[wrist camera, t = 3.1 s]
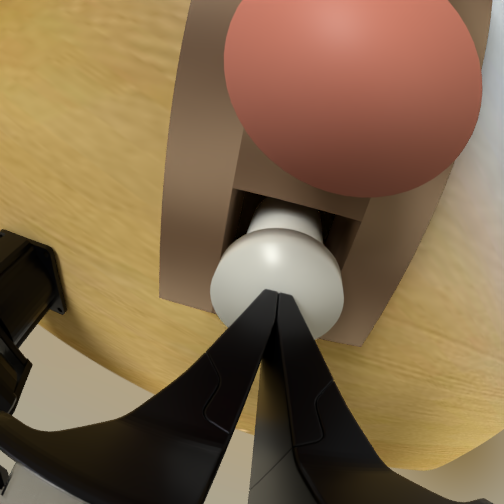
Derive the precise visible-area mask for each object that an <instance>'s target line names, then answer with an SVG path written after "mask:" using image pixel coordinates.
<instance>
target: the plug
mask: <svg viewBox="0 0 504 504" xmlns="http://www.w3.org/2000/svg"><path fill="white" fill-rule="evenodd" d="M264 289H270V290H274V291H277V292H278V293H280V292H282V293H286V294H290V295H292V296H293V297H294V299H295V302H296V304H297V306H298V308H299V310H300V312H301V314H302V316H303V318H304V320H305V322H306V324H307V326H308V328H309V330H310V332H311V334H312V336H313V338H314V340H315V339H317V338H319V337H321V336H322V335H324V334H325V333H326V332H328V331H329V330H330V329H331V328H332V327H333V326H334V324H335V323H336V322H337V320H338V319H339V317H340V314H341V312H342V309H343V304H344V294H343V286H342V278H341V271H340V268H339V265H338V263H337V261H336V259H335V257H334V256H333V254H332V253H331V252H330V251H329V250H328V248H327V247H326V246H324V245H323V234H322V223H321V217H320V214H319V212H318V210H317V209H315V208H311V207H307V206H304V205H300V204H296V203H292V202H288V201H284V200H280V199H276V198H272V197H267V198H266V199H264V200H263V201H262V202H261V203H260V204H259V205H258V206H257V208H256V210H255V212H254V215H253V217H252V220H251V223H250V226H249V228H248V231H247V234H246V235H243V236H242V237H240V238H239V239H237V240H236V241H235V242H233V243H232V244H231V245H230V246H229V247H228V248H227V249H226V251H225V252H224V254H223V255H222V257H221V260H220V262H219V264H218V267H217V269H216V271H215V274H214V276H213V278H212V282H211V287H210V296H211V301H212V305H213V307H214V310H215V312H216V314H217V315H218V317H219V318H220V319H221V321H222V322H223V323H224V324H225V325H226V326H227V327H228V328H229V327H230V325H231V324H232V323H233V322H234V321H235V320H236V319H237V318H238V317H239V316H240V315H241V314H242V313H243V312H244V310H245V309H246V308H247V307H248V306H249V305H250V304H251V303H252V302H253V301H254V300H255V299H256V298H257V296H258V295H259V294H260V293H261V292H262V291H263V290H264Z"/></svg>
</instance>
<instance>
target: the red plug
mask: <svg viewBox="0 0 504 504" xmlns="http://www.w3.org/2000/svg"><path fill="white" fill-rule="evenodd" d="M224 73H225V79H226V86H227V90H228V93H229V97H230V100H231V103H232V106H233V108H234V110H235V112H236V115H237V117H238V119H239V121H240V122H241V124H242V126H243V127H244V129H245V131H246V132H247V134H248V135H249V136H250V138H251V139H252V140H253V142H254V143H255V144H256V145H257V147H258V148H259V149H260V150H261V151H262V152H263V153H264V154H265V155H266V156H267V157H268V158H269V159H270V160H271V161H273V162H274V163H275V164H276V165H278V166H279V167H280V168H281V169H283V170H284V171H285V172H287V173H289V174H290V175H292V176H293V177H295V178H297V179H298V180H300V181H302V182H305V183H307V184H309V185H311V186H313V187H315V188H318V189H321V190H324V191H327V192H330V193H335V194H339V195H344V196H351V197H361V198H367V197H383V196H391V195H395V194H399V193H403V192H407V191H409V190H412V189H414V188H417V187H419V186H421V185H423V184H425V183H427V182H428V181H430V180H432V179H434V178H435V177H436V176H438V175H439V174H440V173H442V172H443V171H444V170H445V169H447V168H448V167H449V166H450V165H451V164H452V163H453V162H454V160H455V159H456V158H457V157H458V156H459V154H460V153H461V152H462V150H463V149H464V148H465V146H466V144H467V143H468V141H469V139H470V137H471V135H472V133H473V131H474V128H475V125H476V123H477V120H478V116H479V111H480V107H481V99H482V74H481V68H480V62H479V57H478V54H477V51H476V48H475V45H474V42H473V40H472V37H471V35H470V33H469V31H468V29H467V27H466V25H465V23H464V22H463V20H462V19H461V17H460V15H459V14H458V12H457V11H456V10H455V8H454V7H453V6H452V5H451V3H450V2H449V1H448V0H242V1H241V3H240V4H239V6H238V7H237V9H236V12H235V14H234V16H233V18H232V20H231V22H230V26H229V29H228V33H227V36H226V42H225V49H224Z"/></svg>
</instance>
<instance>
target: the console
mask: <svg viewBox="0 0 504 504" xmlns="http://www.w3.org/2000/svg"><path fill="white" fill-rule="evenodd" d="M241 1H242V0H191V3H190V7H189V12H188V17H187V21H186V26H185V31H184V36H183V41H182V46H181V52H180V57H179V63H178V69H177V75H176V81H175V88H174V94H173V101H172V109H171V116H170V124H169V133H168V142H167V151H166V162H165V173H164V185H163V199H162V216H161V237H160V272H159V298H162V299H165V300H169V301H172V302H175V303H179V304H182V305H186V306H189V307H193V308H196V309H200V310H203V311H207V312H211V313H214V314H216V312H215V310H214V307H213V305H212V301H211V296H210V287H211V282H212V278H213V276H214V274H215V271H216V269H217V267H218V264H219V262H220V260H221V257H222V255H223V254H224V252H225V251H226V249H227V248H228V247H229V246H230V245H231V244H232V243H233V242H235V241H236V240H237V239H236V235H237V230H238V225H239V220H240V215H241V210H242V205H243V200H244V195H245V191H248V192H252V193H256V194H260V195H264V196H268V197H272V198H276V199H280V200H284V201H288V202H292V203H296V204H300V205H304V206H307V207H311V208H315V209H318V210H322V211H326V212H329V213H333V214H336V215H335V218H334V221H333V224H332V226H331V229H330V232H329V235H328V238H327V240H326V243H325V246H326V247H327V248H328V250H329V251H330V252H331V253H332V254H333V256H334V257H335V259H336V261H337V263H338V265H339V268H340V271H341V278H342V286H343V294H344V304H343V309H342V312H341V314H340V317H339V319H338V320H337V322H336V323H335V324H334V326H333V327H332V328H331V329H330V330H329V331H328V332H326V333H325V334H324V335H322V336H321V337H319V338H318V339H323V340H328V341H333V342H338V343H343V344H348V345H353V346H359V347H361V346H362V344H363V343H364V341H365V340H366V338H367V337H368V335H369V333H370V332H371V330H372V329H373V327H374V325H375V324H376V322H377V321H378V319H379V317H380V316H381V314H382V312H383V311H384V309H385V307H386V305H387V304H388V302H389V300H390V298H391V297H392V295H393V293H394V291H395V290H396V288H397V286H398V284H399V282H400V281H401V279H402V277H403V275H404V273H405V271H406V269H407V267H408V266H409V264H410V262H411V260H412V258H413V256H414V254H415V252H416V250H417V248H418V246H419V244H420V242H421V240H422V237H423V235H424V233H425V231H426V229H427V227H428V225H429V222H430V220H431V218H432V216H433V214H434V211H435V209H436V207H437V204H438V202H439V200H440V197H441V195H442V192H443V190H444V188H445V185H446V182H447V180H448V177H449V175H450V172H451V170H452V167H453V164H454V162H453V163H452V164H451V165H450V166H449V167H448V168H447V169H445V170H444V171H443V172H442V173H440V174H439V175H438V176H436V177H435V178H434V179H432V180H430V181H428V182H427V183H425V184H423V185H421V186H419V187H417V188H414V189H412V190H409V191H407V192H403V193H399V194H395V195H391V196H383V197H367V198H361V197H351V196H344V195H339V194H335V193H330V192H327V191H324V190H321V189H318V188H315V187H313V186H311V185H309V184H307V183H305V182H302V181H300V180H298V179H297V178H295V177H293V176H292V175H290V174H289V173H287V172H285V171H284V170H283V169H281V168H280V167H279V166H278V165H276V164H275V163H274V162H273V161H271V160H270V159H269V158H268V157H267V156H266V155H265V154H264V153H263V152H262V151H261V150H260V149H259V148H258V147H257V145H256V144H255V143H254V142H253V140H252V139H251V138H250V136H249V135H248V134H247V132H246V131H245V129H244V127H243V126H242V124H241V122H240V121H239V119H238V117H237V115H236V112H235V110H234V108H233V106H232V103H231V100H230V97H229V93H228V90H227V86H226V79H225V73H224V49H225V42H226V36H227V33H228V29H229V26H230V22H231V20H232V18H233V16H234V14H235V12H236V9H237V7H238V6H239V4H240V3H241ZM448 1H449V2H450V3H451V5H452V6H453V7H454V8H455V10H456V11H457V12H458V14H459V15H460V17H461V19H462V20H463V22H464V23H465V25H466V27H467V29H468V31H469V33H470V35H471V37H472V40H473V42H474V45H475V48H476V51H477V54H478V57H479V62H480V68H481V69H482V65H483V60H484V55H485V50H486V44H487V38H488V32H489V25H490V18H491V9H492V0H448ZM454 161H455V160H454Z"/></svg>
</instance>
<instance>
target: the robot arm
mask: <svg viewBox="0 0 504 504" xmlns="http://www.w3.org/2000/svg"><path fill="white" fill-rule="evenodd" d="M49 309H51V310H53V311H55V312H57V313H59V314H62V315H63V314H65V312H66V311H67V308H66V304H65V300H64V296H63V292H62V288H61V284H60V280H59V276H58V271H57V266H56V262H55V257H54V252H53V250H52V248H51V247H49V246H47V245H45V244H42V243H39V242H36V241H34V240H31V239H28V238H25V237H23V236H20V235H17V234H15V233H12V232H9V231H7V230H4V229H2V230H1V231H0V450H1V451H2V452H3V453H5V454H6V455H7V456H8V457H10V458H11V459H12V460H14V461H15V462H16V463H15V465H14V467H13V469H12V471H11V473H10V475H8V472H7V470H6V469H5V468H4V467H2V466H1V465H0V504H203V503H204V501H205V499H206V497H207V494H208V492H209V489H210V487H211V485H212V483H213V480H214V478H215V476H216V473H217V471H218V468H219V466H220V464H221V461H222V459H223V457H224V454H225V452H226V449H227V447H228V444H229V442H230V439H231V437H232V435H233V432H234V430H235V427H236V425H237V422H238V420H239V417H240V415H241V412H242V410H243V407H244V404H245V402H246V399H247V397H248V394H249V392H250V389H251V386H252V384H253V381H254V378H255V376H256V373H257V370H258V368H259V365H260V362H261V368H260V380H259V391H258V403H257V414H256V425H255V436H254V447H253V459H252V468H251V478H250V488H249V489H250V491H249V497H248V504H493V503H491V502H490V501H488V500H486V499H484V498H482V499H477V500H474V501H470V502H456V501H452V500H449V499H446V498H444V497H442V496H440V495H438V494H436V493H434V492H431V491H429V490H427V489H426V488H423V487H422V486H420V485H418V484H416V483H414V482H412V481H410V480H408V479H406V478H404V477H402V476H401V475H399V474H397V473H395V472H394V471H392V470H391V469H390V468H389V467H387V466H386V465H385V464H384V462H383V461H382V460H381V459H380V458H379V456H378V455H377V453H376V452H375V450H374V448H373V447H372V445H371V444H370V442H369V441H368V439H367V438H366V436H365V434H364V433H363V431H362V430H361V428H360V427H359V425H358V423H357V422H356V420H355V419H354V417H353V415H352V413H351V412H350V410H349V408H348V407H347V405H346V403H345V401H344V399H343V397H342V395H341V393H340V391H339V389H338V387H337V385H336V383H335V382H334V381H333V380H334V379H333V377H332V375H331V373H330V371H329V369H328V367H327V365H326V363H325V361H324V359H323V356H322V354H321V352H320V350H319V348H318V346H317V344H316V342H315V340H314V338H313V336H312V334H311V332H310V330H309V328H308V326H307V324H306V322H305V320H304V318H303V316H302V314H301V312H300V310H299V308H298V306H297V304H296V302H295V299H294V297H293V296H292V295H290V294H286V293H282V292H280V293H278V292H277V291H274V290H270V289H264V290H263V291H262V292H261V293H260V294H259V295H258V296H257V298H256V299H255V300H254V301H253V302H252V303H251V304H250V305H249V306H248V307H247V308H246V309H245V310H244V312H243V313H242V314H241V315H240V316H239V317H238V318H237V319H236V320H235V321H234V322H233V323H232V324H231V325H230V327H229V328H228V329H227V330H226V331H225V332H224V333H223V334H222V335H221V336H220V337H219V338H218V339H217V340H216V341H215V342H214V343H213V344H212V346H211V347H210V348H209V349H208V350H207V351H206V353H204V354H203V355H202V356H201V357H200V358H199V359H198V360H197V361H196V362H195V363H194V364H193V365H192V366H191V367H190V368H189V369H187V370H186V371H185V372H184V373H183V374H182V375H181V376H179V377H178V378H177V379H176V380H174V381H173V382H172V383H171V384H169V385H168V386H167V387H165V388H164V389H162V390H161V391H160V392H158V393H157V394H156V395H154V396H153V397H152V398H150V399H149V400H147V401H146V402H145V403H143V404H142V405H141V406H139V407H138V408H136V409H135V410H133V411H132V412H130V413H128V414H126V415H124V416H122V417H120V418H117V419H114V420H110V421H106V422H101V423H97V424H92V425H87V426H82V427H77V428H72V429H66V430H61V431H52V432H48V431H40V430H36V429H33V428H31V427H29V426H26V425H25V424H23V423H22V422H21V421H19V420H18V419H16V418H14V417H13V416H12V414H13V413H14V411H15V409H16V406H17V404H18V401H19V398H20V395H21V393H22V390H23V387H24V385H25V382H26V380H27V377H28V375H29V372H30V370H31V368H32V363H31V362H30V361H29V360H28V359H26V358H25V357H24V355H23V354H22V353H21V352H20V350H19V349H18V348H19V347H20V346H21V344H22V343H23V342H24V341H25V339H26V338H27V337H28V335H29V334H30V333H31V331H32V330H33V329H34V328H35V326H36V325H37V324H38V323H39V321H40V320H41V319H42V318H43V317H44V315H45V314H46V313H47V312H48V310H49Z"/></svg>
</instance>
